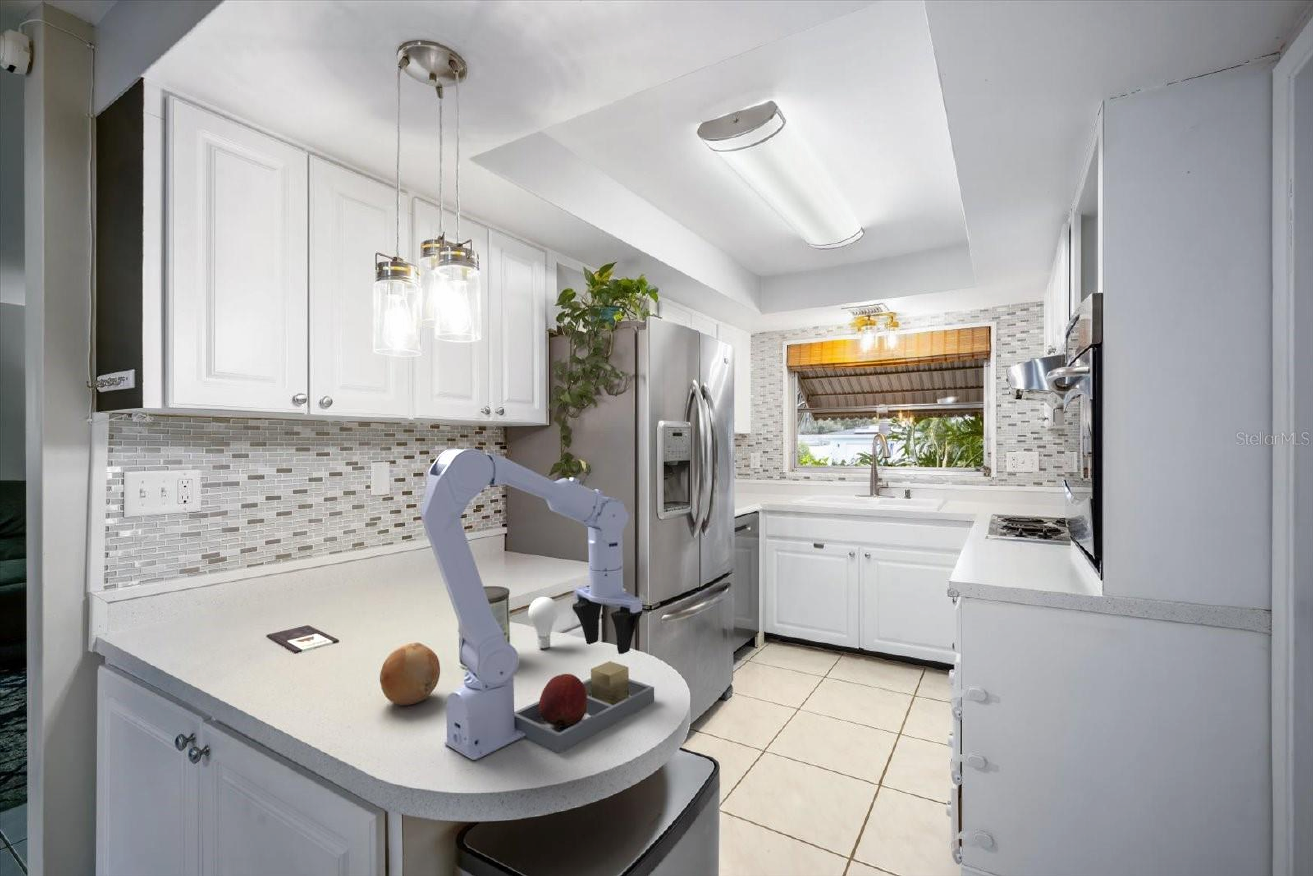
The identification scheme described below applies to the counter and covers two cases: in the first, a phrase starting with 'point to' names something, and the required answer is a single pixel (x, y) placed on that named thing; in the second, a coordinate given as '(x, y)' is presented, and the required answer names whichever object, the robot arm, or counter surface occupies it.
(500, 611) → the coffee can
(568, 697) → the apple
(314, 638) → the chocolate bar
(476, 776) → the counter surface
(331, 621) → the counter surface
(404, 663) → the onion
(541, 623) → the lightbulb
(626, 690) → the wooden block
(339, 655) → the counter surface
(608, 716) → the grey divided tray
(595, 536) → the robot arm
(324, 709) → the counter surface
